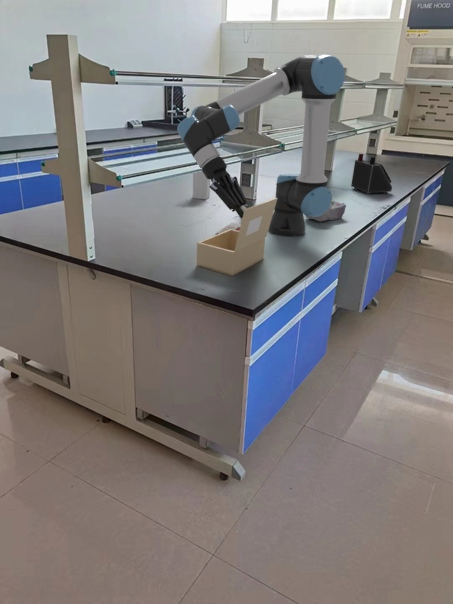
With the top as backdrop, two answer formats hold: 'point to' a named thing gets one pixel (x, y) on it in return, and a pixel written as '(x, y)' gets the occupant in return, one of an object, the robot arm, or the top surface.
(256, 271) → the top surface
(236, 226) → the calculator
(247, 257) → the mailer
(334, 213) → the grey rock
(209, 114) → the robot arm
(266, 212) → the lid
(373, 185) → the voltmeter
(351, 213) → the top surface
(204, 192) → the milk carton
